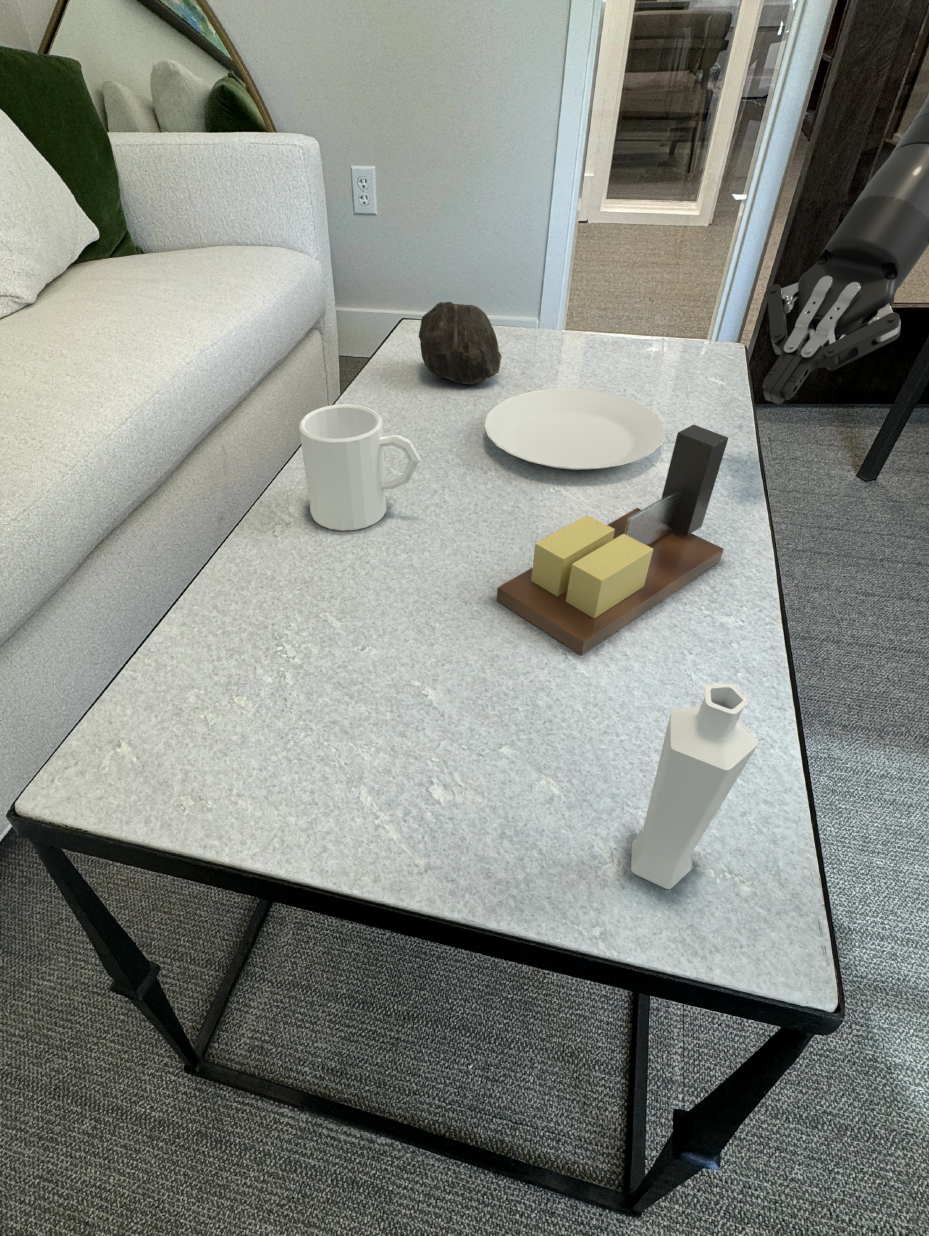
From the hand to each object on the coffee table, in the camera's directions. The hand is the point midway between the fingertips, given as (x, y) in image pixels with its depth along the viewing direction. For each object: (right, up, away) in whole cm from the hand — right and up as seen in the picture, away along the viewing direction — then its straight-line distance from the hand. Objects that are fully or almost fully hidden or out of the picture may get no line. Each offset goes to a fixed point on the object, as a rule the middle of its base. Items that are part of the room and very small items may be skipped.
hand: (771, 398), depth 69 cm
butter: (-18, -18, -4) cm, 26 cm away
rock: (-27, +17, +33) cm, 46 cm away
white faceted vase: (-18, -39, -22) cm, 48 cm away
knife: (-11, -13, 0) cm, 17 cm away
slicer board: (-16, -17, -1) cm, 23 cm away
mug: (-39, -9, +9) cm, 41 cm away
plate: (-15, +2, +19) cm, 24 cm away
